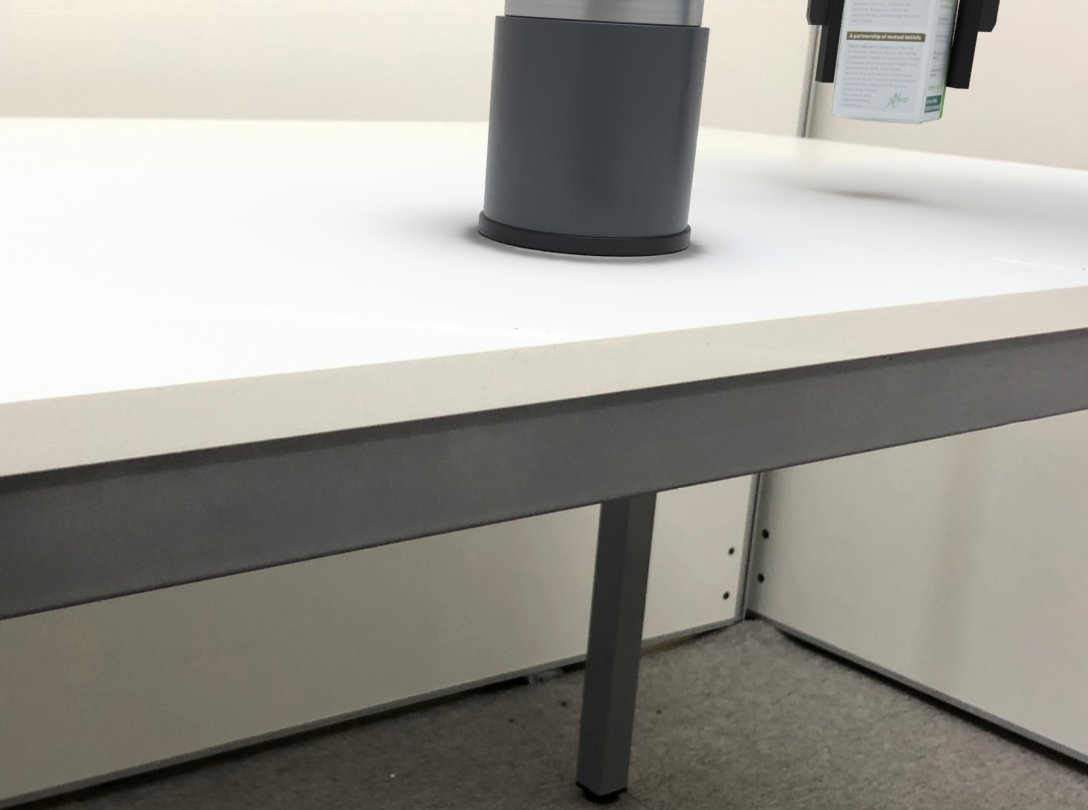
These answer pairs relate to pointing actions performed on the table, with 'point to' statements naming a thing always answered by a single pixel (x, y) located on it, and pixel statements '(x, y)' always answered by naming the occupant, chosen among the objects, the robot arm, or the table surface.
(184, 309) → the table surface
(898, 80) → the syrup box
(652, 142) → the dark grey upright cylinder
